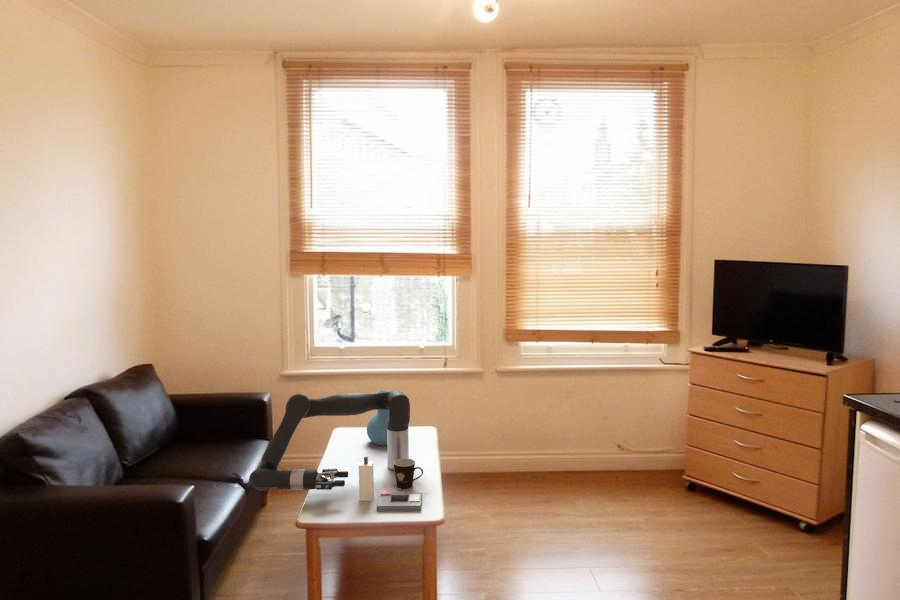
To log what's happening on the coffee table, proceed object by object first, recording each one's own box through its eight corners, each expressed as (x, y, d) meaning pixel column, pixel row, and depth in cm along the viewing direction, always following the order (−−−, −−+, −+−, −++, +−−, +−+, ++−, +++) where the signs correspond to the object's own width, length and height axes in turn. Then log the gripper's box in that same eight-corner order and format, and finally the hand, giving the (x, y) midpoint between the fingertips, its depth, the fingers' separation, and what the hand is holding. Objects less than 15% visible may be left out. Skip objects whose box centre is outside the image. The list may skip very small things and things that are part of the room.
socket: (379, 497, 236) (379, 490, 236) (421, 496, 236) (421, 490, 236) (376, 511, 224) (376, 504, 224) (420, 510, 225) (420, 503, 224)
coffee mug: (389, 486, 246) (389, 462, 245) (405, 480, 252) (405, 456, 251) (408, 494, 238) (408, 470, 237) (424, 488, 244) (424, 464, 243)
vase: (376, 450, 287) (375, 398, 285) (361, 440, 301) (360, 390, 298) (407, 443, 296) (406, 393, 294) (391, 434, 310) (390, 386, 307)
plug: (360, 496, 237) (360, 455, 236) (373, 495, 237) (373, 455, 236) (359, 501, 233) (358, 459, 231) (372, 500, 233) (371, 459, 231)
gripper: (299, 477, 226) (343, 476, 227) (307, 462, 241) (348, 462, 241) (300, 496, 227) (343, 496, 228) (308, 481, 241) (349, 480, 242)
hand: (346, 478), depth 234 cm, fingers open, 8 cm apart
